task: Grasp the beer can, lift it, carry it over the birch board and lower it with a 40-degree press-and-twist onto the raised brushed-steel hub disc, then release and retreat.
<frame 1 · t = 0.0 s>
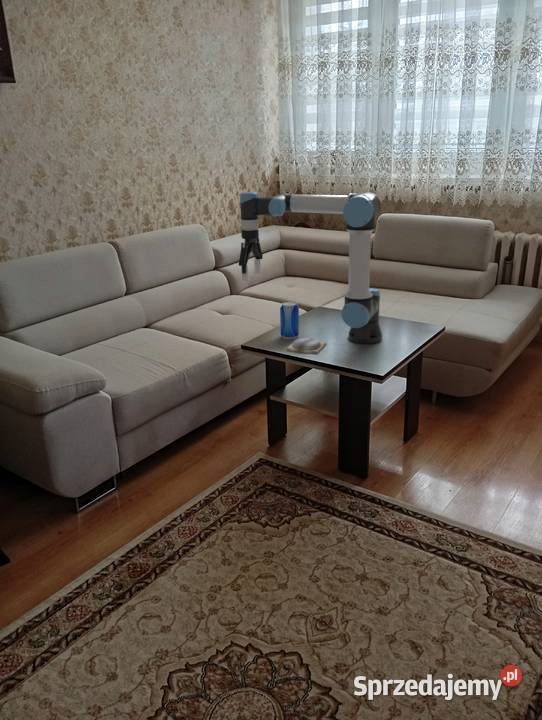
hand: (251, 277, 272), 28 cm above the table, fingers open, 13 cm apart
beer can: (289, 337, 280), on the table
hub board: (306, 347, 267), on the table
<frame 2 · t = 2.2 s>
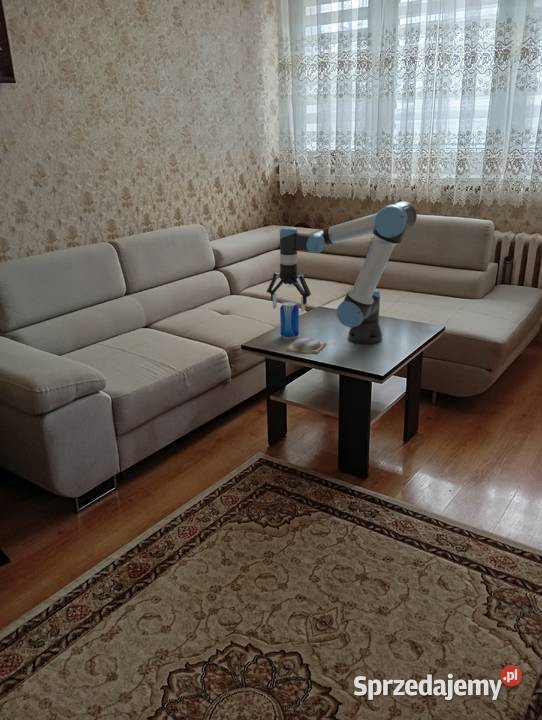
hand: (288, 309, 276), 13 cm above the table, fingers open, 13 cm apart
nothing on the table moved.
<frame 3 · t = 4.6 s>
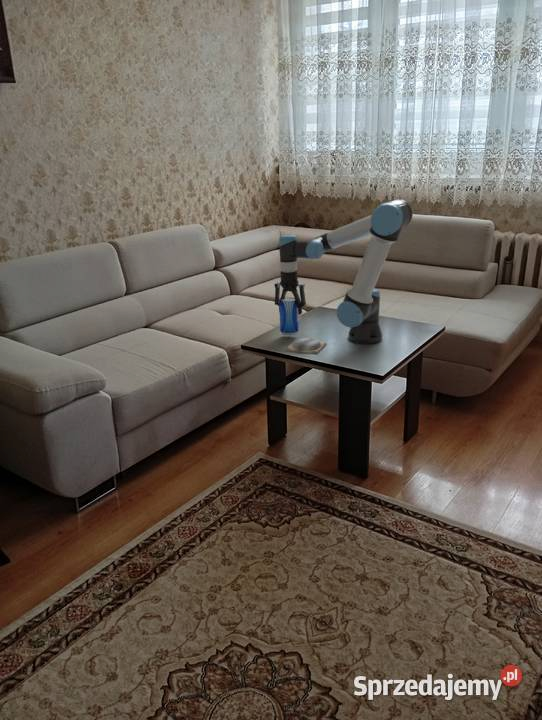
hand: (290, 320, 277), 8 cm above the table, fingers closed on beer can, 7 cm apart
beer can: (289, 333, 279), point 2 cm above the table, touching gripper
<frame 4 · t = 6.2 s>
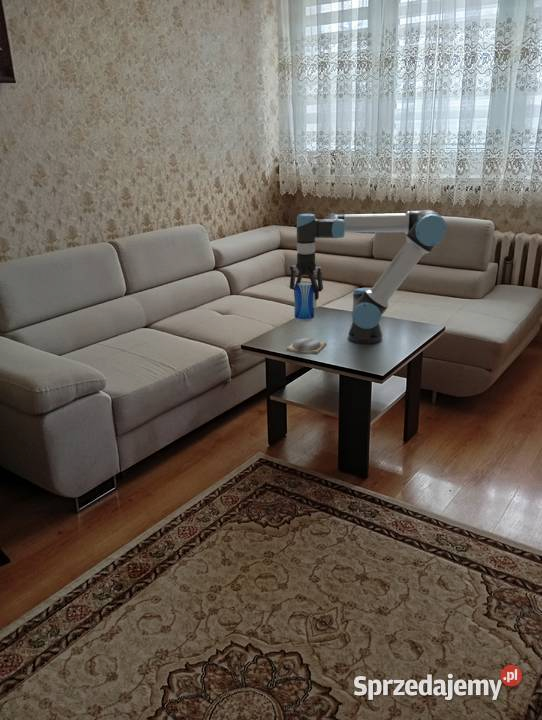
hand: (306, 306, 260), 19 cm above the table, fingers closed on beer can, 7 cm apart
beer can: (304, 319, 262), point 13 cm above the table, touching gripper
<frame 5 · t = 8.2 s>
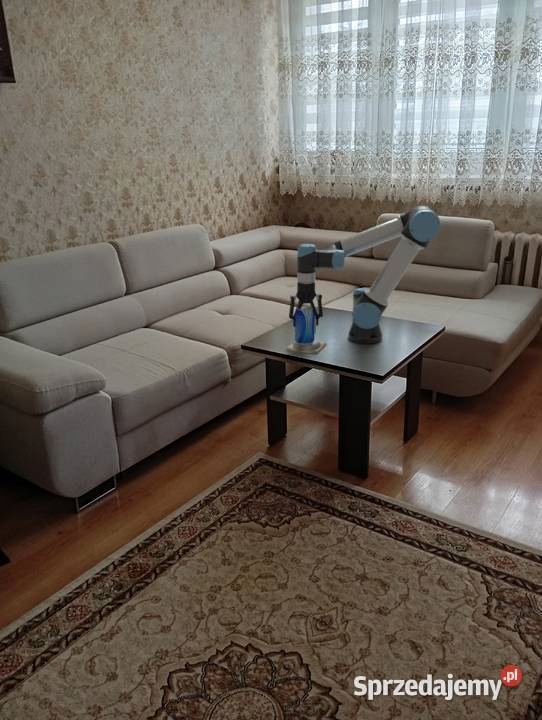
hand: (305, 333, 264), 7 cm above the table, fingers closed on beer can, 7 cm apart
beer can: (304, 343, 265), point 2 cm above the table, touching gripper
when the fingers open (5 cm above the table, at t = 8.9 s): beer can stays where it is, resting on hub board.
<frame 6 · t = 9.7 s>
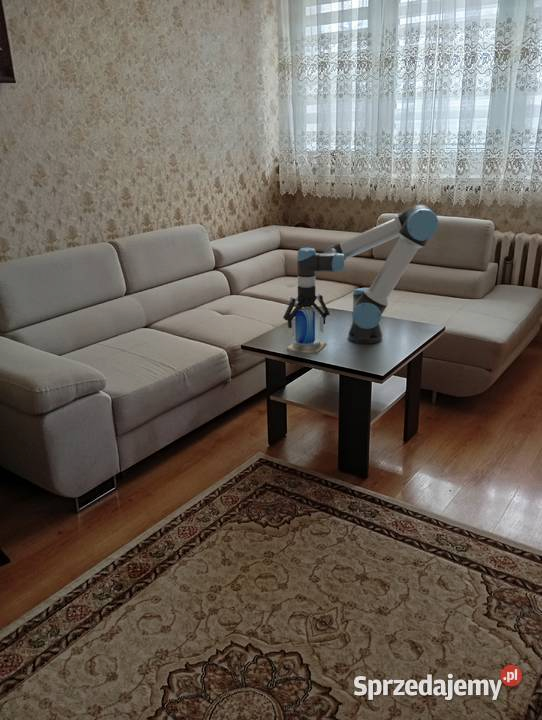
hand: (306, 333, 264), 7 cm above the table, fingers open, 13 cm apart
beer can: (305, 343, 265), point 2 cm above the table, touching hub board
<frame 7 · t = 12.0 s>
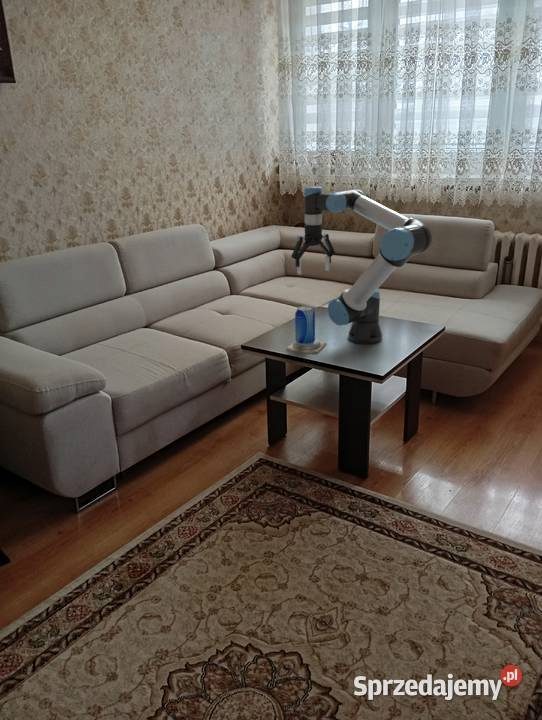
hand: (313, 272, 270), 30 cm above the table, fingers open, 13 cm apart
nothing on the table moved.
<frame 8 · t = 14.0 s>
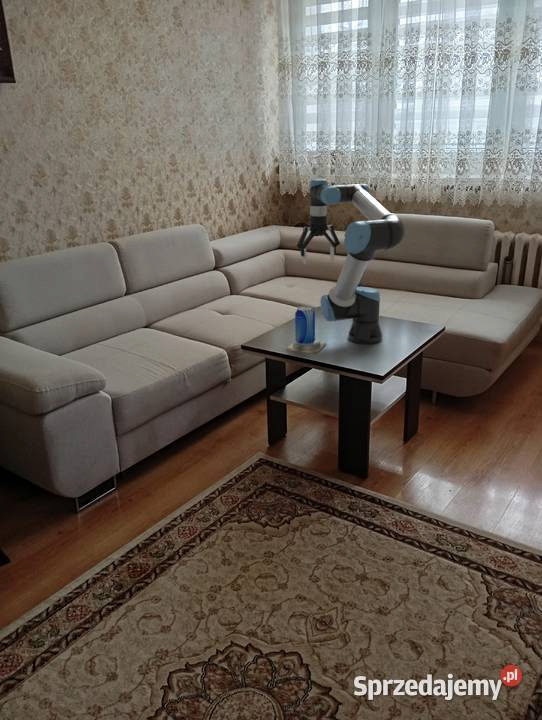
hand: (318, 262, 280), 32 cm above the table, fingers open, 13 cm apart
nothing on the table moved.
at the end: beer can inside the target area on the hub board (1.1 cm from its centre), point 2.0 cm above the hub board's base; beer can tilted 0°; the gripper is holding nothing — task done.
